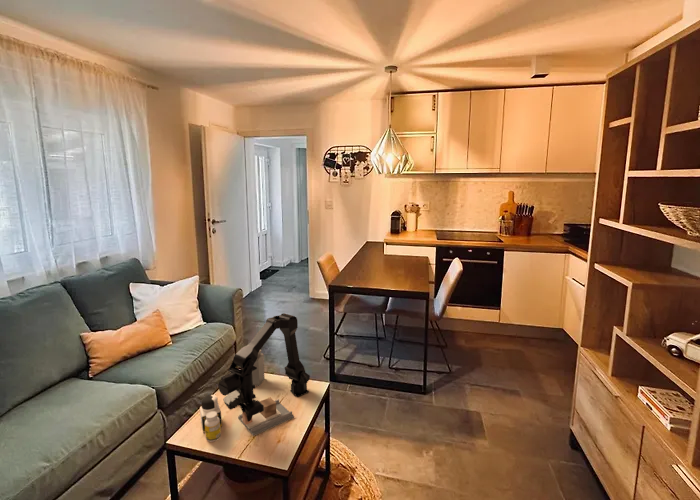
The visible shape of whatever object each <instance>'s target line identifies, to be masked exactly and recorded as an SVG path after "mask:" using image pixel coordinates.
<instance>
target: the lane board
mask: <svg viewBox="0 0 700 500" xmlns="http://www.w3.org/2000/svg"><path fill="white" fill-rule="evenodd" d="M274 401H275V402H276V409H277V410H278V411H279V412H280V413H281V415H280V416H278V417H276V418H273V419H271V420H269V421H266V422H264V423H262V424H260V425H257V426H255V427H253V428H250V429H249V428H248V427H247V426H246V425H245V424H244V423H243V421H242V413H241V414H239V415H237V416H238V417H237V418H238V420H239V421H240V423H241V424H242V425H243V426H244V427H245V428H246V430H247V431H248V432H249V433H250V434H251V435H252V437H255V436H256V435H259V434H261V433H263V432H265V431H266V432H267V431H268V430H270V429H272V428H274V427H276V426H279V425H281V424H283V423H285V422H288V421H289V420H292V419H294V417H295V416H294V414H293V411H292V410H291V411H289V410H288V409H287V408H286V407H285V406H284V405H283V404H282V403H281V402H280V399H276V400H274Z"/></svg>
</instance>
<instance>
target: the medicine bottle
mask: <svg viewBox="0 0 700 500" xmlns="http://www.w3.org/2000/svg"><path fill="white" fill-rule="evenodd" d="M212 411H215V412H217V417H219V419H220V428H222V427H223V423H222V411H221V408H220V404H219V401H218V396H217V395H215V394H209V395H206V396H203V398H202V399H201V406H200V407H199V417H200V424H201V429H202V432H203V433H205V420H206V414H207V413H209V412H212Z"/></svg>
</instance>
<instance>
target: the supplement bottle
mask: <svg viewBox="0 0 700 500" xmlns="http://www.w3.org/2000/svg"><path fill="white" fill-rule="evenodd" d="M204 433H205V440H206V441H207V442H211V443H213V442H216V441H218V440H220V438H221V437H222V433H221V427H220V419H219V417H217V412H215V411H212V412H209V413H207V414H206V420H205V432H204Z"/></svg>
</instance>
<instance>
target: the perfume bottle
mask: <svg viewBox="0 0 700 500" xmlns="http://www.w3.org/2000/svg"><path fill="white" fill-rule="evenodd" d="M264 357H265V356H264V353H262V349H260V351H259V353H258V358H257V360H256V362H255V363H254V366H255V367H257V369H256V370H254V371H252V374H253V384H254V385H255V387H260V386H261V385H262V383H263V382H264V381H265V379H266V378H265V364H264V363H265V360H264Z"/></svg>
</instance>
